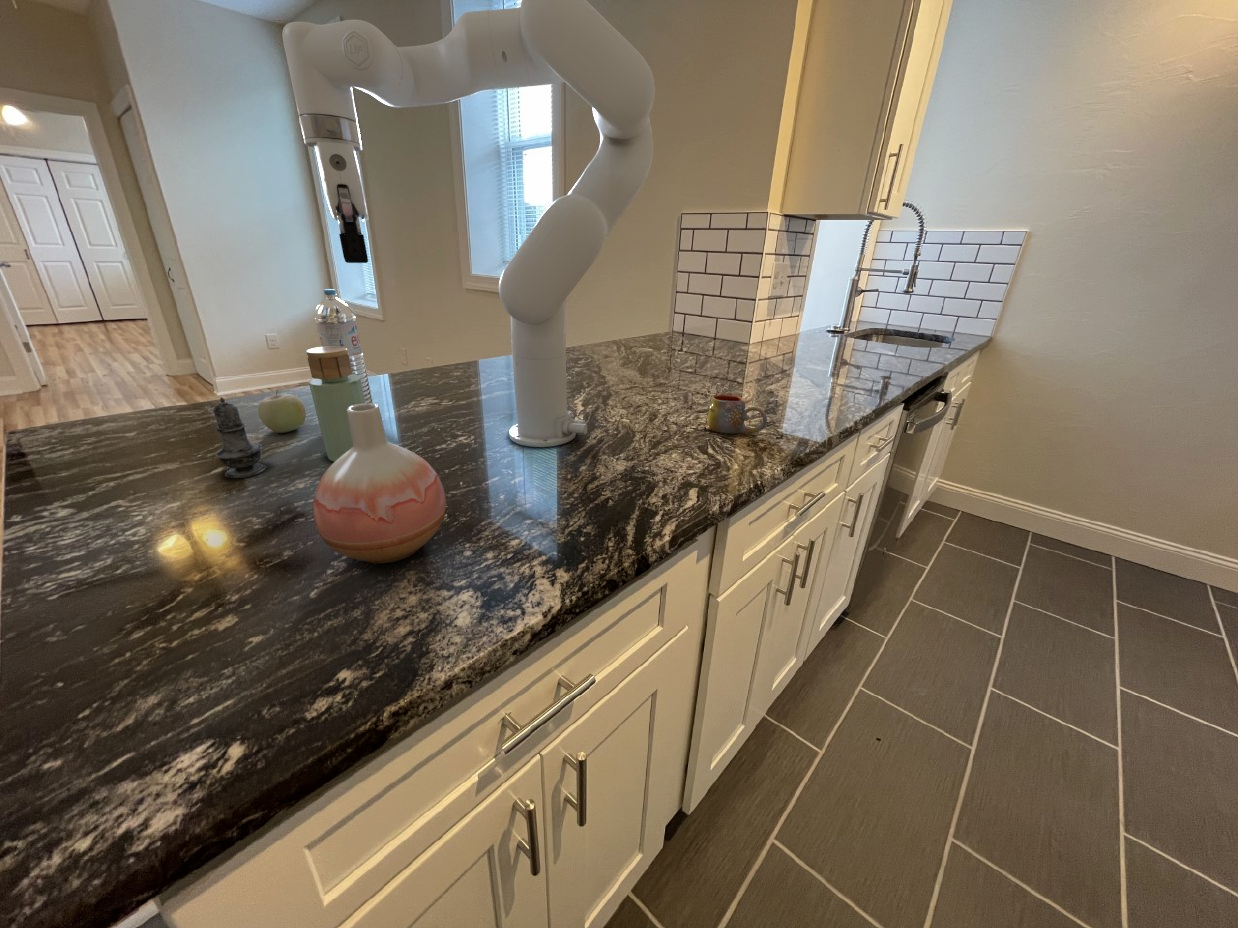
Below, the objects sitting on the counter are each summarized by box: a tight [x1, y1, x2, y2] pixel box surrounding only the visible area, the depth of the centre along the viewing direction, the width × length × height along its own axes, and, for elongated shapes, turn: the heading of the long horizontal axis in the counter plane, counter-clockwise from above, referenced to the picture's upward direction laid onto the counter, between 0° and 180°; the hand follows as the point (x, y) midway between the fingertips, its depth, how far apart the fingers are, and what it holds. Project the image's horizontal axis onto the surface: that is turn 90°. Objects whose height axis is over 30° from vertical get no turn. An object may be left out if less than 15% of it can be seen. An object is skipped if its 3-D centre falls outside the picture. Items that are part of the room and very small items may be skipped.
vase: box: [312, 403, 447, 565], centre depth 54 cm, size 14×14×18 cm
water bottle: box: [313, 288, 374, 404], centre depth 94 cm, size 7×7×25 cm
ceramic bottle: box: [308, 374, 365, 462], centre depth 79 cm, size 7×7×17 cm
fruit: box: [257, 389, 307, 434], centre depth 91 cm, size 8×7×8 cm
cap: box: [305, 346, 352, 379], centre depth 76 cm, size 6×6×4 cm
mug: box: [706, 394, 768, 435], centre depth 95 cm, size 12×7×7 cm, turn 50°
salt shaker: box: [212, 397, 267, 479], centre depth 73 cm, size 6×6×12 cm
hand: (355, 261), depth 78 cm, fingers open, 9 cm apart
